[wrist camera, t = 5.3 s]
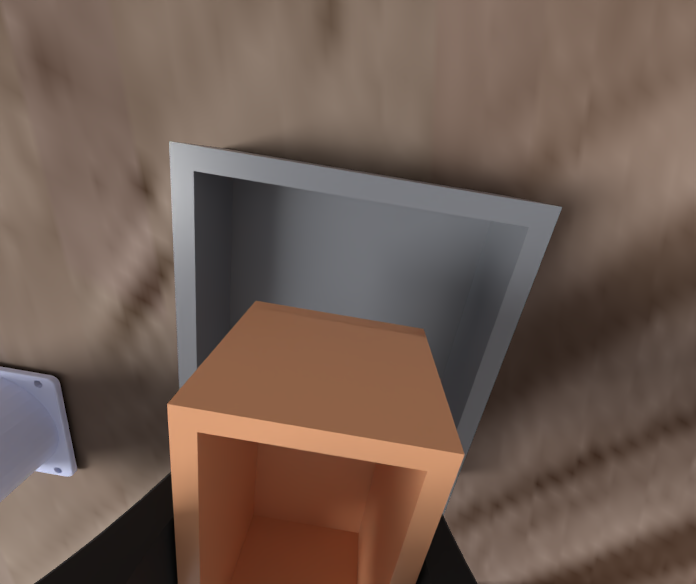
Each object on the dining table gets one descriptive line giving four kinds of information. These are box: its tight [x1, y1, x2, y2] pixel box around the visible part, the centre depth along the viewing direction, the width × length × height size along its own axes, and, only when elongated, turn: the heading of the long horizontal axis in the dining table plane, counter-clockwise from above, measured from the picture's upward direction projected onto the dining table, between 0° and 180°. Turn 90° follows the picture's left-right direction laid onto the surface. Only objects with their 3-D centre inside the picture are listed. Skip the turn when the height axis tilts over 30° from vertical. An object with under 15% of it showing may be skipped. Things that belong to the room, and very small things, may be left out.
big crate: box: [169, 141, 562, 515], centre depth 16 cm, size 13×17×4 cm
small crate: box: [167, 301, 465, 584], centre depth 9 cm, size 5×9×4 cm, turn 171°
